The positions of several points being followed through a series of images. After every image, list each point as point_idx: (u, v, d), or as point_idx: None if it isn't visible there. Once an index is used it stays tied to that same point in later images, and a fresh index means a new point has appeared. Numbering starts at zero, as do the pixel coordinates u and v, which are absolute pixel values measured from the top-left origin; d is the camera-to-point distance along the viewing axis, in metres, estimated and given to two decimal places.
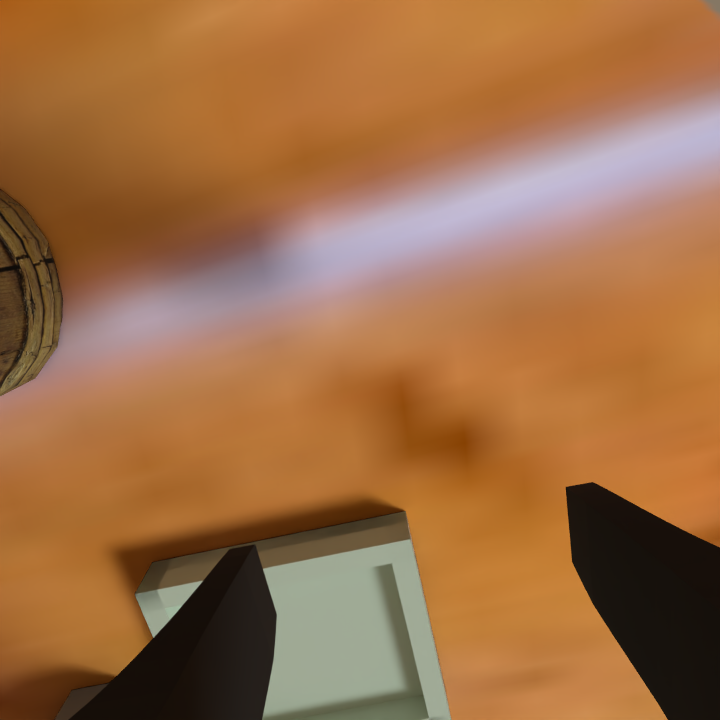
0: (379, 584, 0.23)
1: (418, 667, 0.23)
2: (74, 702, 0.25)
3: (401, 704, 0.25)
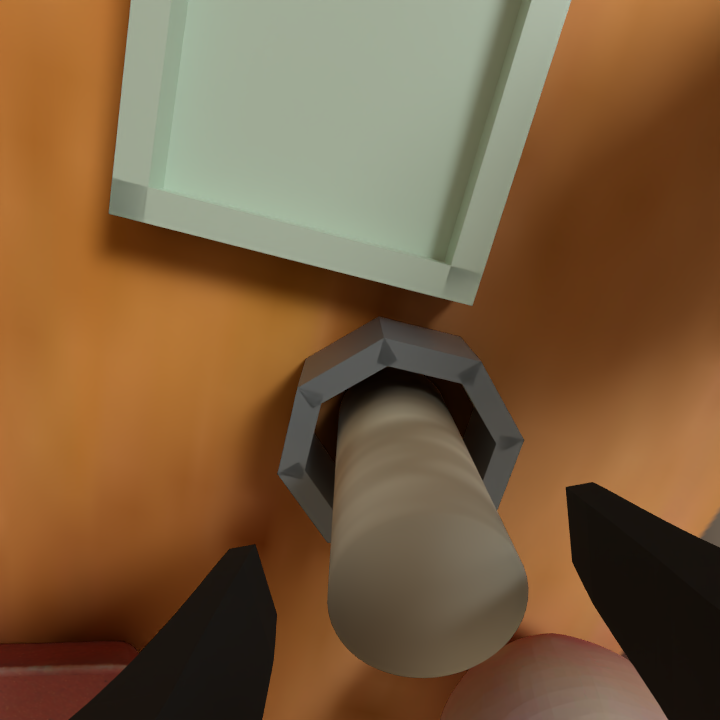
0: None
1: None
2: None
3: None
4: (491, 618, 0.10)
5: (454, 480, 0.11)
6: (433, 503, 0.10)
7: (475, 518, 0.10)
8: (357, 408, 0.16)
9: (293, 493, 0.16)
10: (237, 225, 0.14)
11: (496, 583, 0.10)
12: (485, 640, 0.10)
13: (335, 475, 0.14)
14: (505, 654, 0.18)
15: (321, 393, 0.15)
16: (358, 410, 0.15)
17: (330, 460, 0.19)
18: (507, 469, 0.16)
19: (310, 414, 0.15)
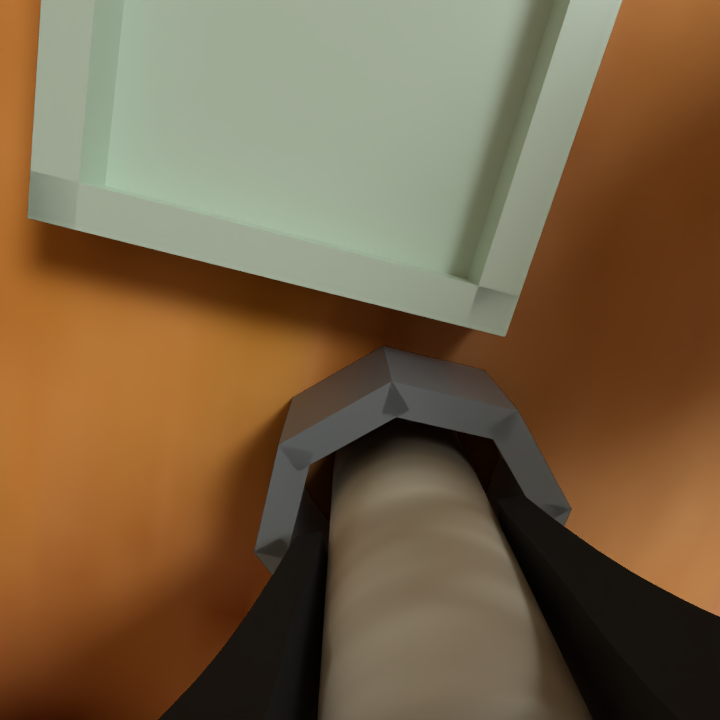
0: None
1: None
2: None
3: None
4: None
5: (501, 613, 0.07)
6: (476, 672, 0.06)
7: (544, 699, 0.06)
8: (357, 468, 0.12)
9: None
10: (198, 233, 0.11)
11: None
12: None
13: (327, 567, 0.10)
14: None
15: (309, 452, 0.12)
16: (358, 472, 0.12)
17: (323, 520, 0.15)
18: None
19: (296, 478, 0.12)
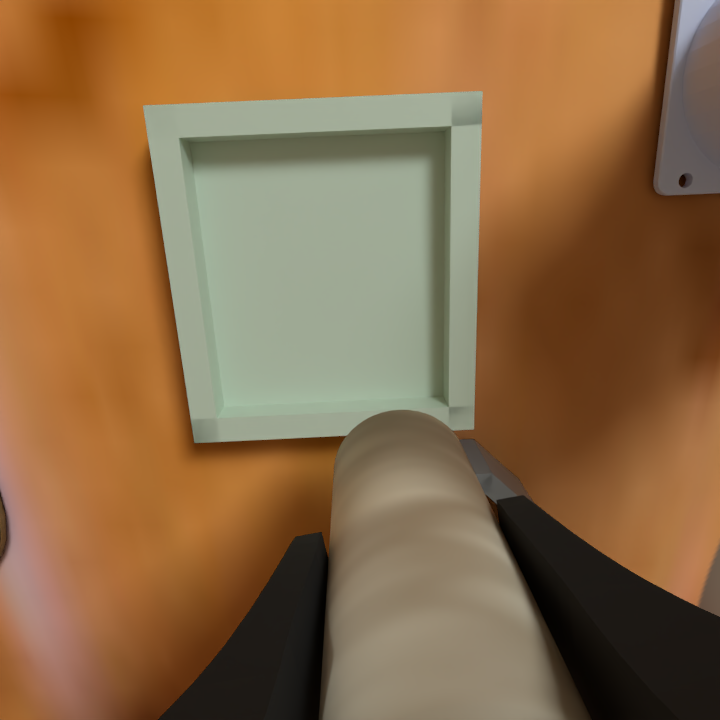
0: (248, 166, 0.18)
1: (356, 127, 0.16)
2: None
3: (445, 168, 0.18)
4: None
5: (499, 616, 0.07)
6: (473, 676, 0.06)
7: (541, 702, 0.06)
8: (356, 471, 0.12)
9: None
10: (285, 424, 0.19)
11: None
12: None
13: (328, 572, 0.10)
14: None
15: None
16: (357, 476, 0.12)
17: None
18: None
19: None
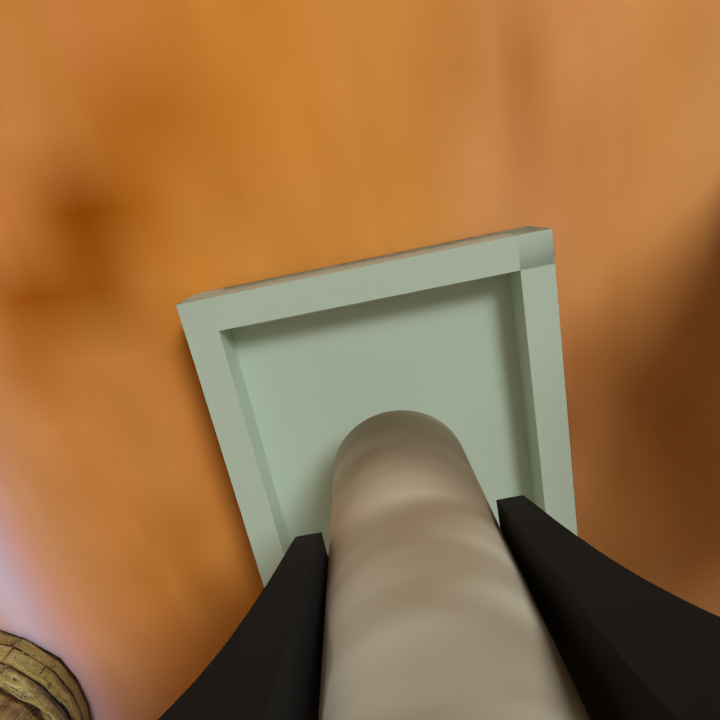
0: (294, 336, 0.16)
1: (412, 289, 0.15)
2: None
3: (515, 306, 0.16)
4: None
5: (497, 617, 0.07)
6: (469, 677, 0.06)
7: (538, 703, 0.06)
8: (355, 473, 0.12)
9: None
10: None
11: None
12: None
13: (327, 574, 0.10)
14: None
15: None
16: (356, 477, 0.12)
17: None
18: None
19: None
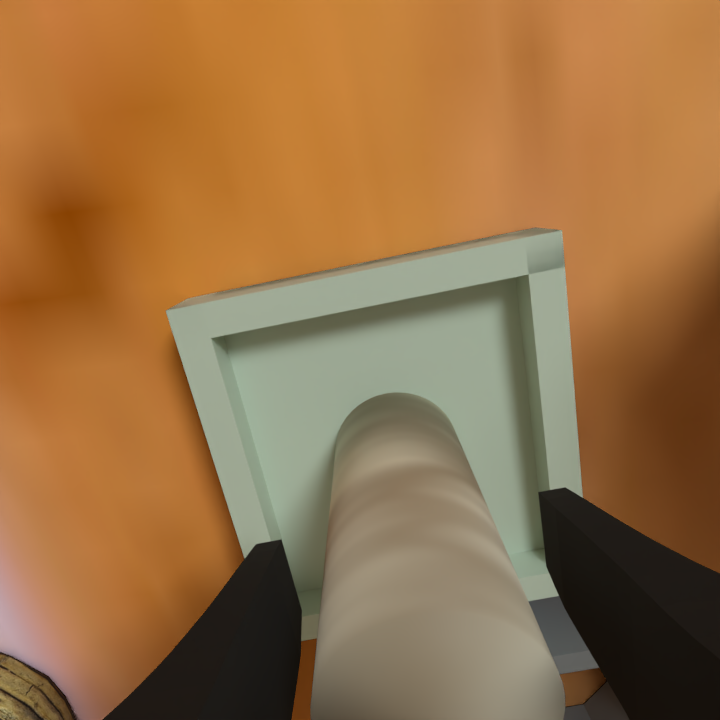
0: (291, 342, 0.15)
1: (414, 294, 0.14)
2: None
3: (522, 311, 0.15)
4: None
5: (467, 553, 0.09)
6: (439, 593, 0.08)
7: (495, 614, 0.07)
8: (353, 445, 0.14)
9: None
10: None
11: (524, 692, 0.08)
12: None
13: None
14: None
15: None
16: (354, 448, 0.13)
17: None
18: None
19: None
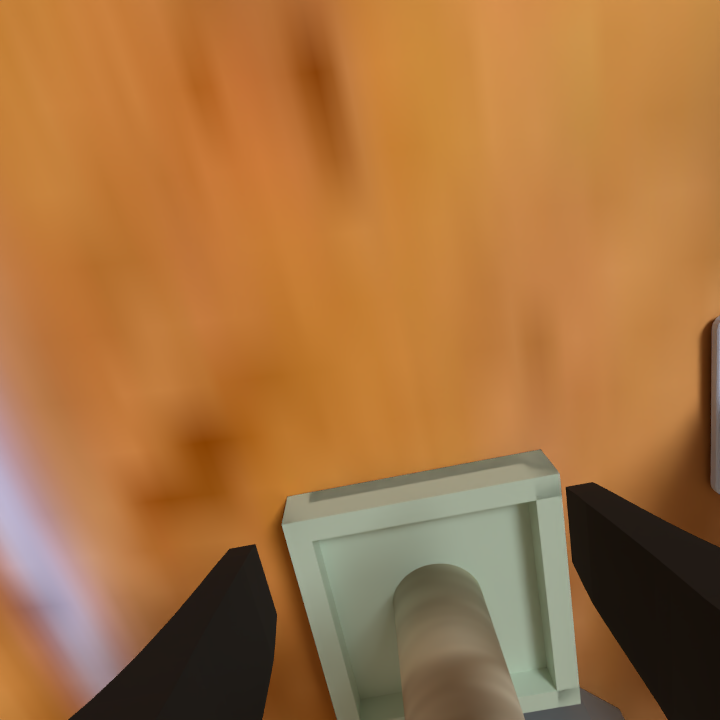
0: (363, 532, 0.21)
1: (456, 513, 0.20)
2: None
3: (531, 513, 0.21)
4: None
5: None
6: None
7: None
8: (414, 621, 0.19)
9: None
10: None
11: None
12: None
13: (404, 694, 0.18)
14: None
15: None
16: (416, 625, 0.19)
17: None
18: None
19: None
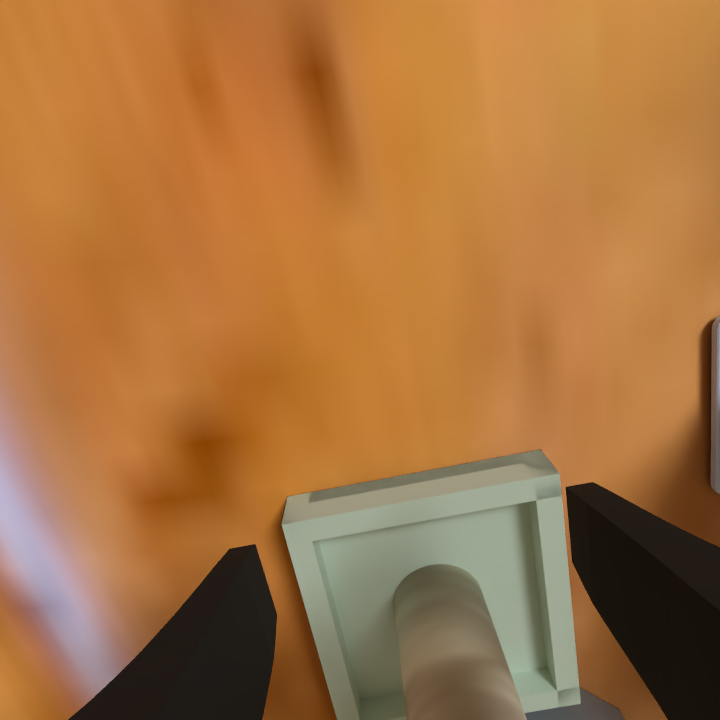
0: (363, 532, 0.21)
1: (456, 513, 0.20)
2: None
3: (531, 513, 0.21)
4: None
5: None
6: None
7: None
8: (416, 622, 0.19)
9: None
10: None
11: None
12: None
13: (406, 697, 0.18)
14: None
15: None
16: (418, 627, 0.19)
17: None
18: None
19: None
